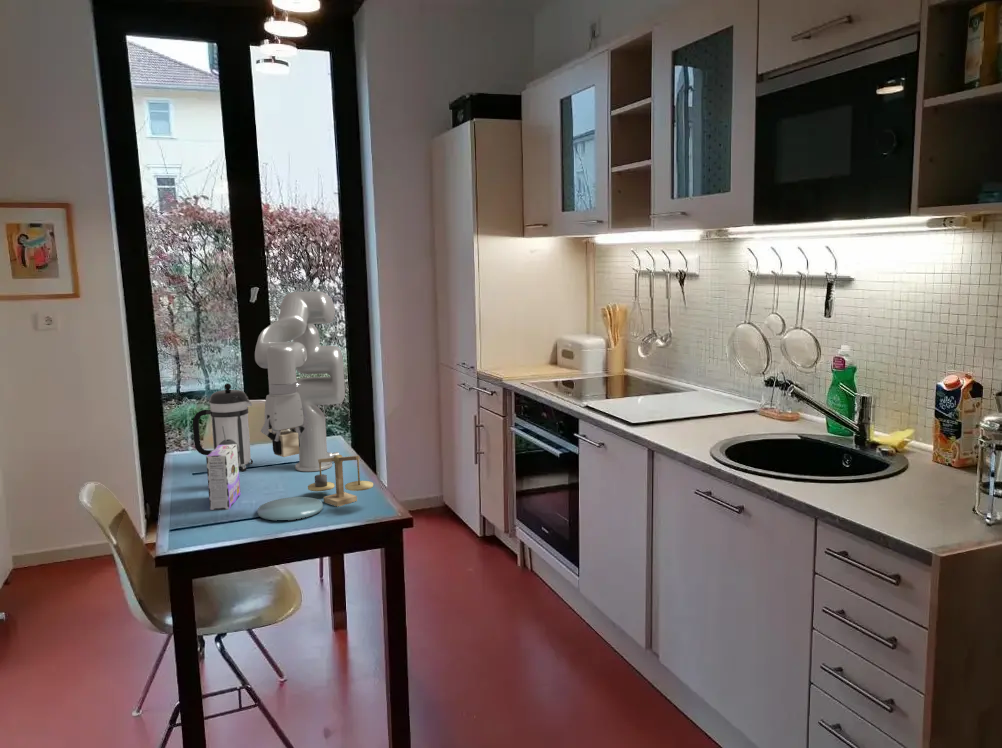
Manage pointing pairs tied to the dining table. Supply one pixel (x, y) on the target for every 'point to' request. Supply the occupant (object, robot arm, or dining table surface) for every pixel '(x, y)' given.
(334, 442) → the dining table surface
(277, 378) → the robot arm
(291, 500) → the dish
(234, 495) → the candy box
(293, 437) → the block
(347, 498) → the balance
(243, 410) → the coffee press
